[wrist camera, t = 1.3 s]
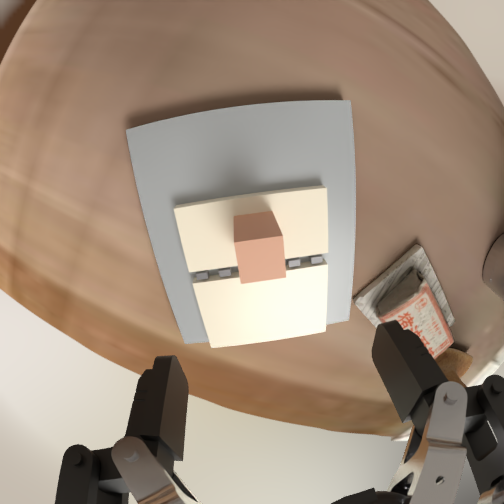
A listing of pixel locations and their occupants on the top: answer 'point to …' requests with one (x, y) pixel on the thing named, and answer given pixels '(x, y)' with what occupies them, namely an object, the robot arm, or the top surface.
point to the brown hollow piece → (454, 364)
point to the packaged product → (410, 301)
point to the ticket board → (245, 182)
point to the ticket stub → (254, 231)
